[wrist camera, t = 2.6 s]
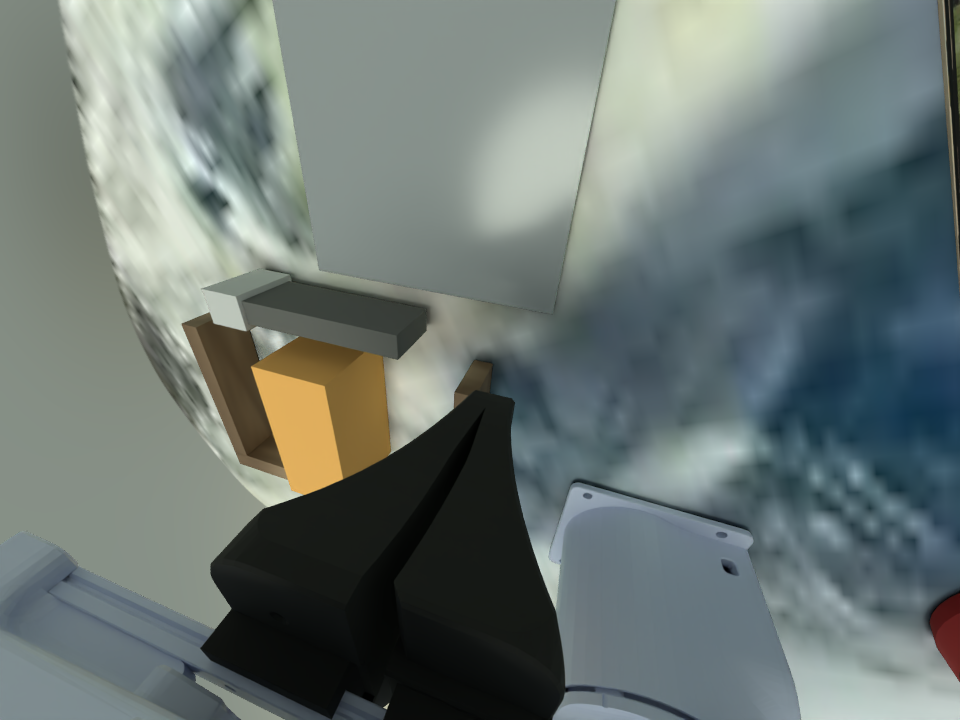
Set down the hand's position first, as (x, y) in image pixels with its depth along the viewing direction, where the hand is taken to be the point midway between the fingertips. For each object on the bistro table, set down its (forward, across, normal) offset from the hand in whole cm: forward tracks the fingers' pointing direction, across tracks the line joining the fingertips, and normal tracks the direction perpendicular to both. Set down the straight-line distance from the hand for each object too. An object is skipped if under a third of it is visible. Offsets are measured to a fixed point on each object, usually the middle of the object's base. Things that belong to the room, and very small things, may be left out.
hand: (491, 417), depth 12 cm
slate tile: (+6, +5, -7) cm, 11 cm away
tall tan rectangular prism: (+7, +10, +7) cm, 14 cm away
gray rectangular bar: (+6, +10, 0) cm, 12 cm away
